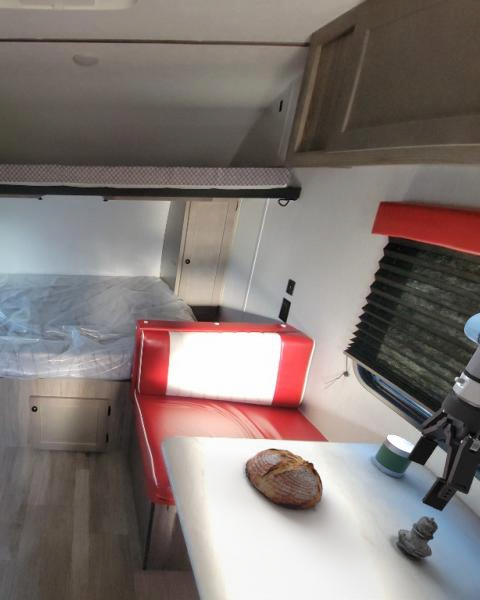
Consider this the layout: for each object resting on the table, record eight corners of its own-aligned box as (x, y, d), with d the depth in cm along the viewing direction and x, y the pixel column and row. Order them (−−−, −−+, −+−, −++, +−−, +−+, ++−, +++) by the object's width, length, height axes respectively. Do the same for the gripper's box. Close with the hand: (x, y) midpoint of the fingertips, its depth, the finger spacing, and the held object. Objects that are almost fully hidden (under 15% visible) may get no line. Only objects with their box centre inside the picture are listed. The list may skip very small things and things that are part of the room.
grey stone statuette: (401, 560, 76) (427, 526, 72) (385, 535, 81) (409, 501, 77) (430, 569, 75) (459, 534, 70) (413, 543, 80) (438, 509, 76)
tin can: (407, 477, 100) (424, 452, 96) (389, 479, 98) (406, 454, 94) (383, 458, 106) (398, 433, 102) (366, 459, 104) (380, 435, 101)
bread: (333, 511, 87) (351, 486, 83) (268, 517, 83) (283, 492, 79) (288, 457, 102) (302, 433, 97) (231, 460, 98) (243, 436, 93)
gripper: (433, 366, 74) (390, 438, 82) (475, 428, 54) (412, 516, 62) (481, 380, 70) (430, 454, 78) (544, 452, 51) (468, 542, 59)
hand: (422, 482), depth 70 cm, fingers open, 13 cm apart
